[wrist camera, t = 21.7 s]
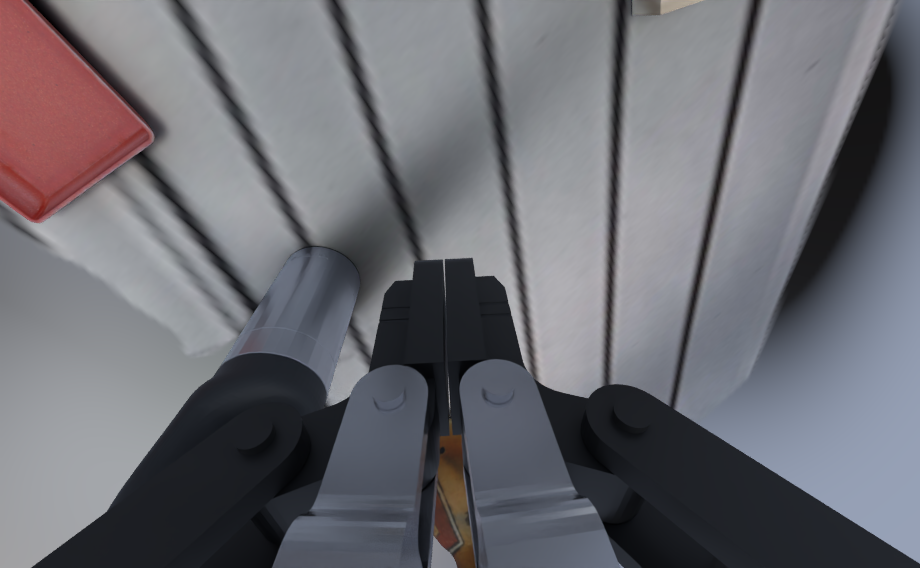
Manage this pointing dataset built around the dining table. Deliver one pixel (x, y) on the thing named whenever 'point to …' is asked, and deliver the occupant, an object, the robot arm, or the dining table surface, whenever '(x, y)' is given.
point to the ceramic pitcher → (453, 503)
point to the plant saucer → (56, 117)
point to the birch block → (658, 6)
